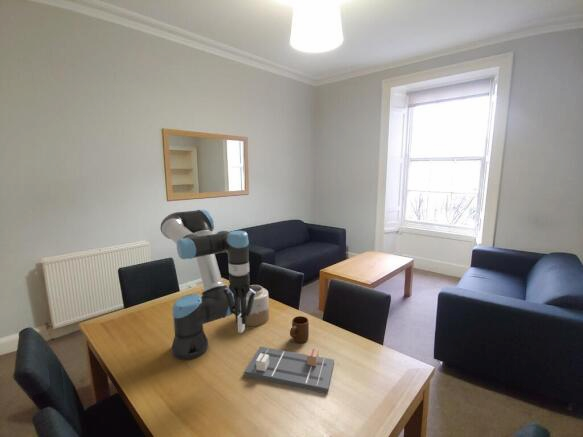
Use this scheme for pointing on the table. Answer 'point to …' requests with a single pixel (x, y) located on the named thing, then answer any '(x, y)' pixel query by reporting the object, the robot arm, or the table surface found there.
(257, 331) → the table surface
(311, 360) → the fader
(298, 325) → the mug
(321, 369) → the console
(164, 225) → the robot arm
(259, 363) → the block
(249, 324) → the vase
